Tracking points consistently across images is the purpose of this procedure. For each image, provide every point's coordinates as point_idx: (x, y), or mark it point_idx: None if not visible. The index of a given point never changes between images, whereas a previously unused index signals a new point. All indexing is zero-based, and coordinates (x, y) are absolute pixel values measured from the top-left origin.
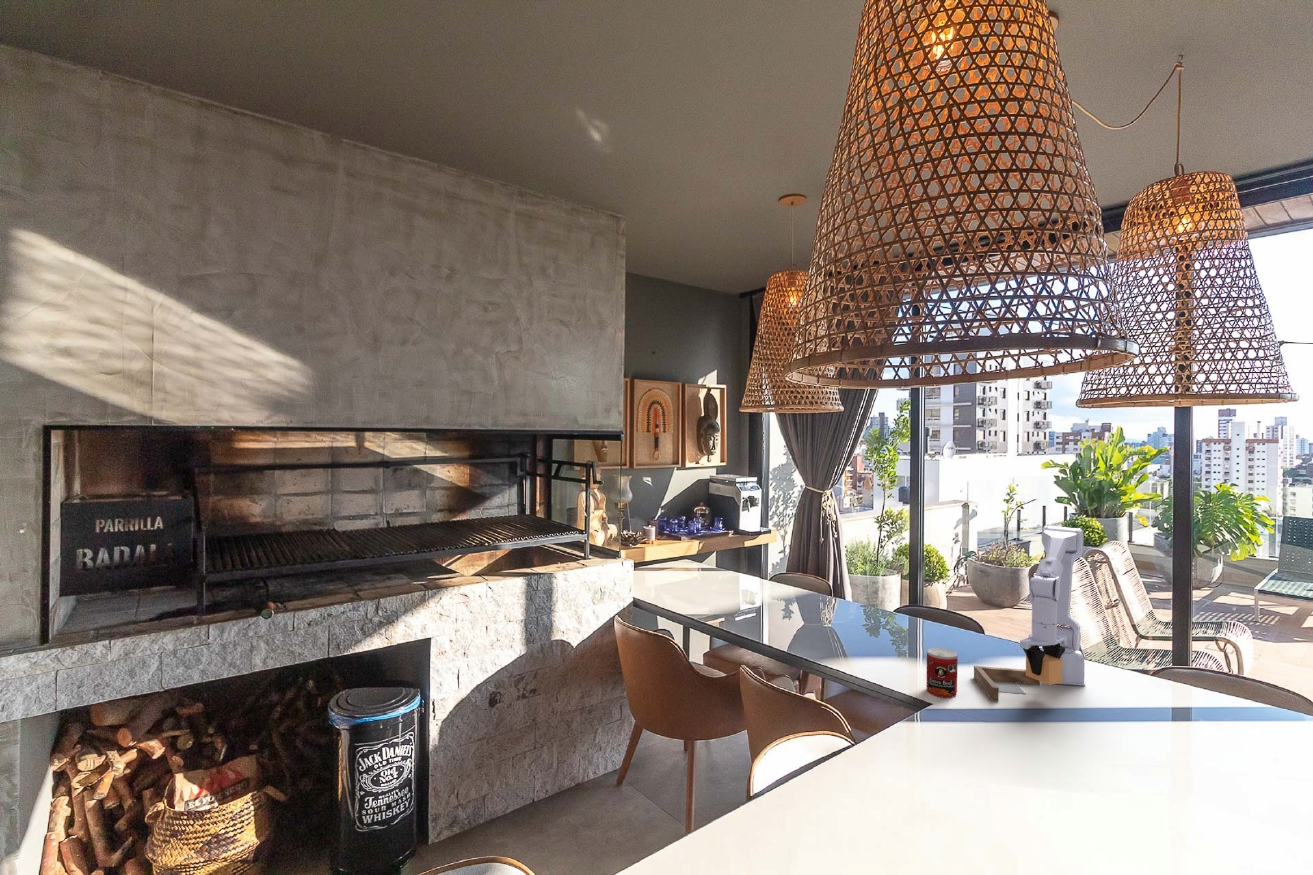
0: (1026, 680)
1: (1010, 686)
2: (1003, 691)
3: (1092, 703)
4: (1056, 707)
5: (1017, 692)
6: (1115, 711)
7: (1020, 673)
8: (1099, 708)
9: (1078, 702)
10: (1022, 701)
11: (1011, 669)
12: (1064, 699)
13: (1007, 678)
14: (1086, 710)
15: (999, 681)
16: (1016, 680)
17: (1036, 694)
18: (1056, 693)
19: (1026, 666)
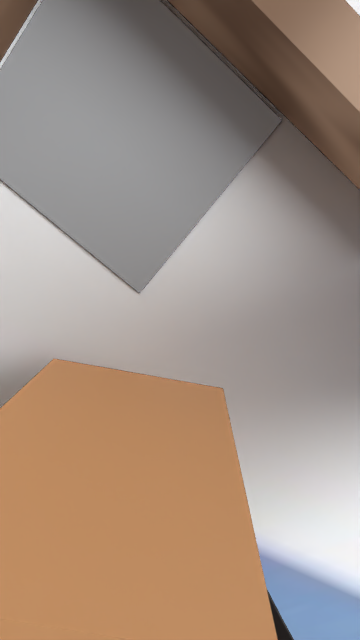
0: (355, 168)
1: (172, 154)
2: (35, 193)
3: (343, 535)
4: None
5: (109, 253)
6: (327, 621)
7: (347, 119)
8: (300, 577)
9: (291, 498)
10: (8, 351)
11: (322, 28)
12: (269, 444)
13: (250, 62)
14: None
15: (201, 32)
16: (300, 117)
17: (198, 327)
18: (329, 375)
19: (7, 410)
